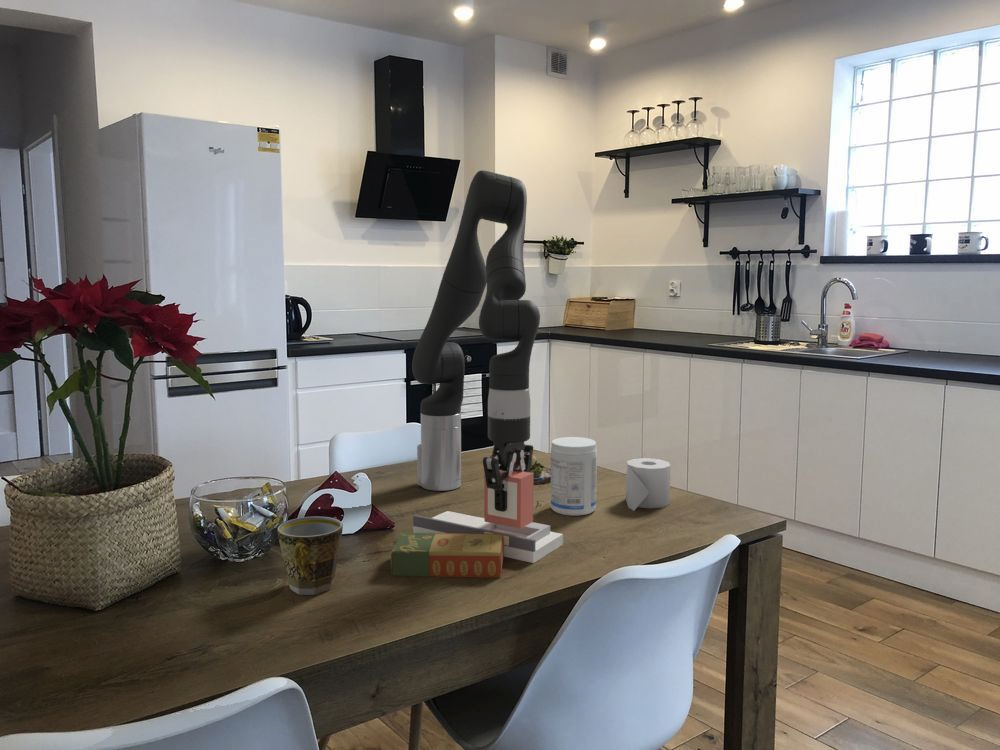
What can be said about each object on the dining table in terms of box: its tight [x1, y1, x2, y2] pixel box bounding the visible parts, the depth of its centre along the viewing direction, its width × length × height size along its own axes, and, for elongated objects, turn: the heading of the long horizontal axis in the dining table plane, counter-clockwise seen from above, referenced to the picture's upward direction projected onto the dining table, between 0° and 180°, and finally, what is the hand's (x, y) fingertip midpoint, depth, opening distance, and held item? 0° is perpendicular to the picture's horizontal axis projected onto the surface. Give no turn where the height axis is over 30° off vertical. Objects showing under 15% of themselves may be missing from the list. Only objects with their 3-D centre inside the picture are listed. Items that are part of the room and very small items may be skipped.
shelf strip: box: [412, 510, 564, 564], centre depth 150 cm, size 26×11×4 cm, turn 58°
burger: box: [524, 454, 551, 485], centre depth 194 cm, size 12×12×8 cm
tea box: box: [483, 470, 534, 529], centre depth 144 cm, size 5×8×9 cm, turn 58°
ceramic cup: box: [277, 516, 344, 596], centre depth 126 cm, size 13×10×10 cm
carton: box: [390, 531, 505, 579], centre depth 137 cm, size 10×18×5 cm, turn 87°
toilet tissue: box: [625, 457, 672, 512], centre depth 172 cm, size 9×13×9 cm
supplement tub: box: [550, 436, 598, 517], centre depth 168 cm, size 10×10×15 cm
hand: (508, 506), depth 145 cm, fingers closed on tea box, 4 cm apart
